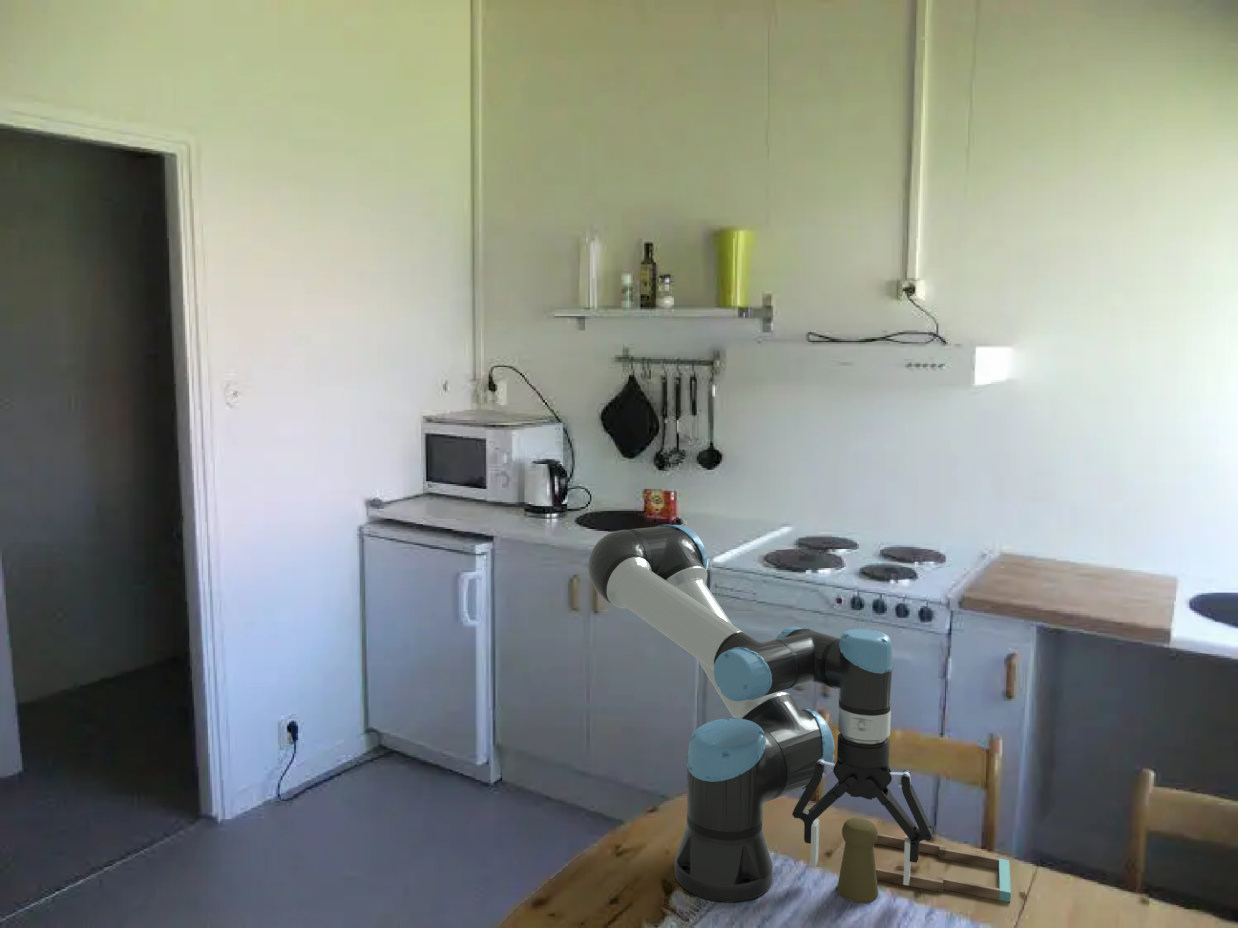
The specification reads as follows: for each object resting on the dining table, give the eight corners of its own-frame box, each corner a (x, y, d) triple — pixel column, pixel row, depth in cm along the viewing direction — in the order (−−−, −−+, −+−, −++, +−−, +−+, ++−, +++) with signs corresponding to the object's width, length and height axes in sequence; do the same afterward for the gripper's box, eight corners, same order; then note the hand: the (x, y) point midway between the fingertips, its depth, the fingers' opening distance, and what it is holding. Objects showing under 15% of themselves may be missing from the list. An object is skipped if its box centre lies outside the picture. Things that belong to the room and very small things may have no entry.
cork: (879, 905, 139) (882, 833, 138) (837, 899, 140) (840, 829, 139) (876, 883, 145) (879, 814, 144) (836, 878, 146) (839, 810, 145)
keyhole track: (857, 875, 147) (857, 866, 147) (866, 840, 159) (867, 831, 158) (1010, 905, 139) (1010, 896, 139) (1008, 866, 151) (1009, 857, 150)
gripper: (775, 732, 141) (772, 868, 143) (951, 756, 132) (946, 901, 134) (785, 715, 148) (782, 845, 150) (953, 738, 139) (948, 876, 141)
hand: (859, 872), depth 142 cm, fingers open, 13 cm apart
